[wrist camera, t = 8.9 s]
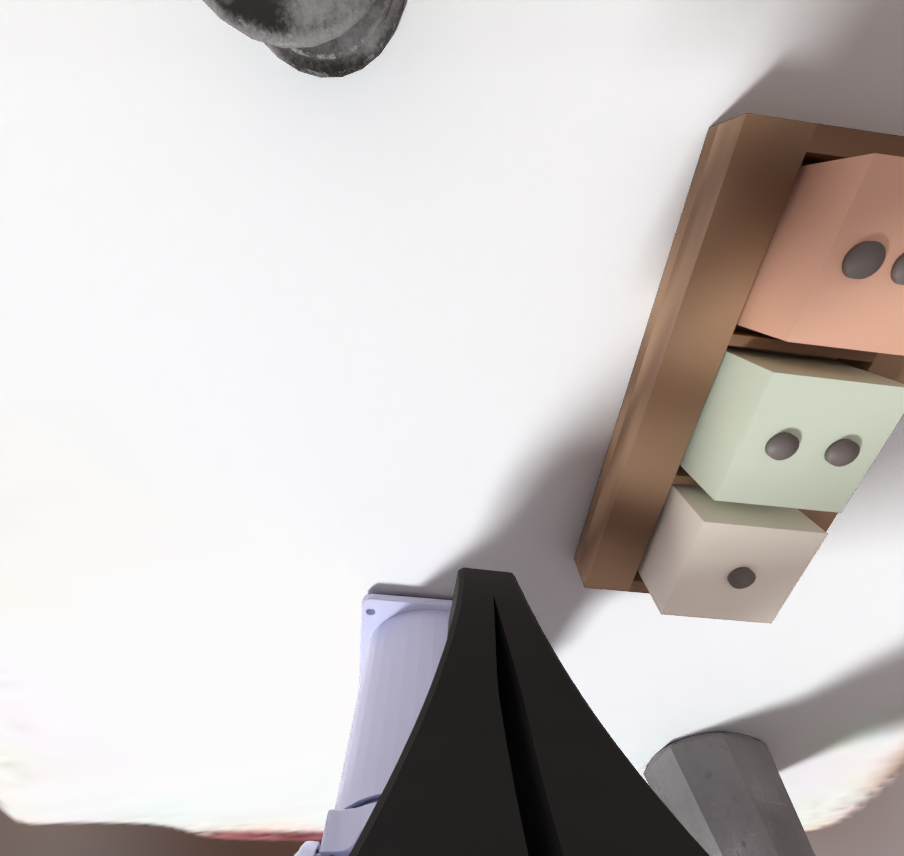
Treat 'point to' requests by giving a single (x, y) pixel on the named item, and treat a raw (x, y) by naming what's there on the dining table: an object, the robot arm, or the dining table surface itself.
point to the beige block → (726, 556)
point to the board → (707, 327)
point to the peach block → (836, 259)
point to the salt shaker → (316, 30)
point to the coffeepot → (728, 795)
